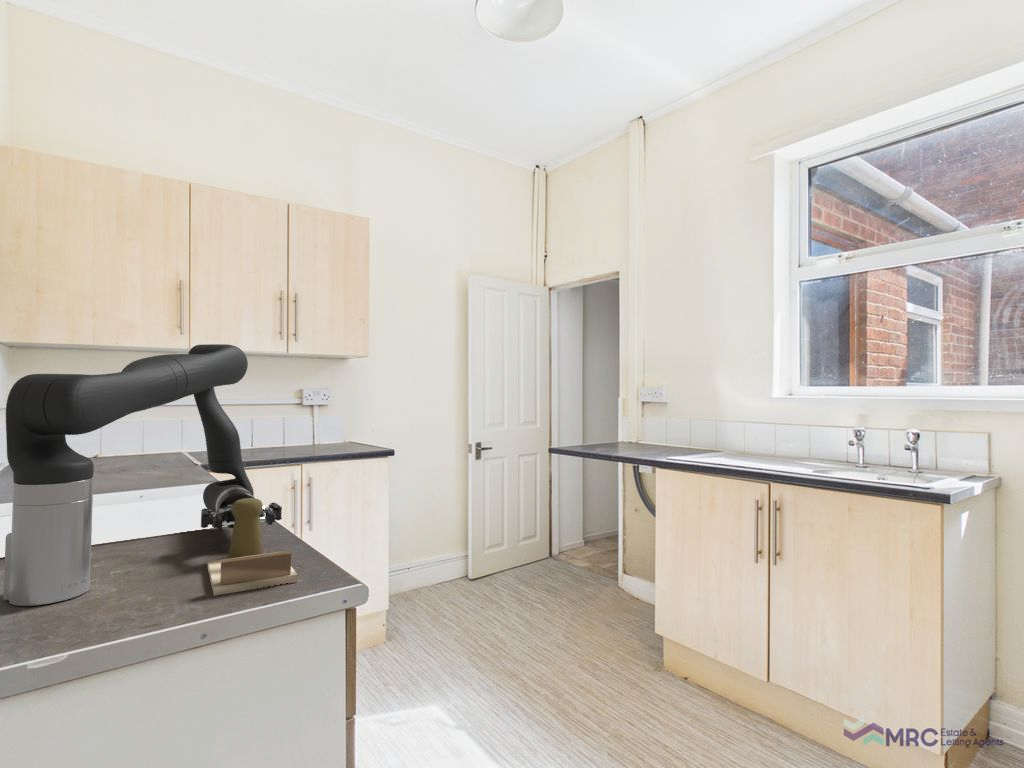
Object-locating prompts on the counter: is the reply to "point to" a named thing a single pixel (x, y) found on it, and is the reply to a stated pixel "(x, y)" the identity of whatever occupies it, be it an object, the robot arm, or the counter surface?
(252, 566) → the wooden stand base
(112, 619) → the counter surface
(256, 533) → the cork
